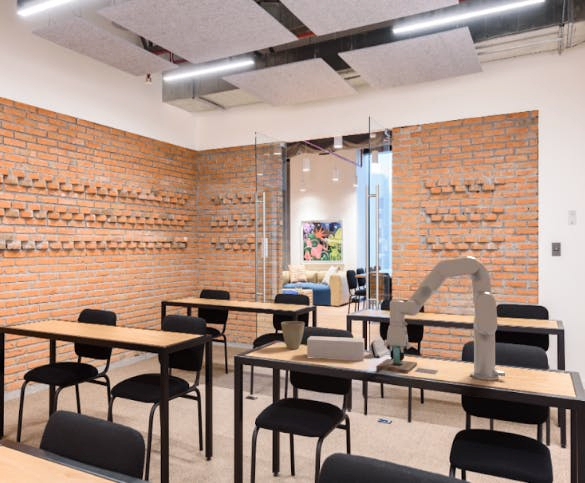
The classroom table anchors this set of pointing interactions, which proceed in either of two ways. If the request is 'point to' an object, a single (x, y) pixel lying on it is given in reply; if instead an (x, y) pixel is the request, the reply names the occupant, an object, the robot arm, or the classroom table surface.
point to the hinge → (378, 348)
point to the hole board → (396, 366)
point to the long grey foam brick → (335, 348)
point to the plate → (426, 371)
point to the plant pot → (292, 333)
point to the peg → (396, 354)
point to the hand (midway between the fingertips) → (397, 359)
